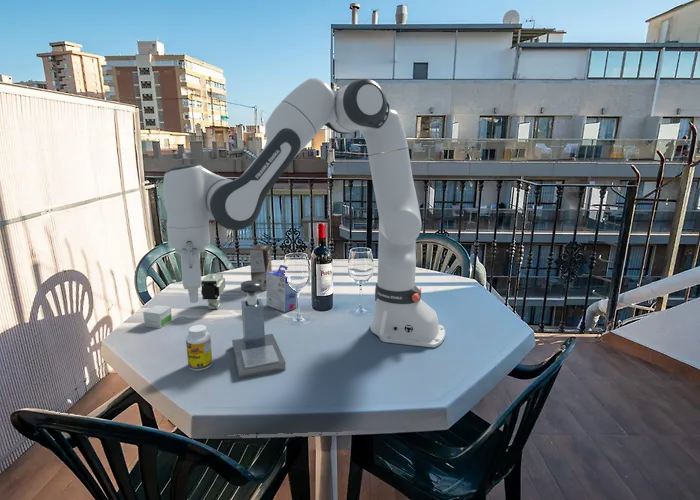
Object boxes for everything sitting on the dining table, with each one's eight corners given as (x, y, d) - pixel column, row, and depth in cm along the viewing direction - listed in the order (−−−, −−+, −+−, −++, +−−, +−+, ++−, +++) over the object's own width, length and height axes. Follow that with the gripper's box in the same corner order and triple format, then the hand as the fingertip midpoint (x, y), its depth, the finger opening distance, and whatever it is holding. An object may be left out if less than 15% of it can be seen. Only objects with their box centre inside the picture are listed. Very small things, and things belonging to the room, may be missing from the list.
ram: (264, 329, 100) (263, 285, 97) (244, 332, 98) (242, 287, 95) (261, 321, 105) (259, 279, 102) (242, 324, 103) (239, 281, 100)
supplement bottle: (183, 369, 92) (179, 330, 90) (199, 357, 97) (196, 321, 95) (201, 374, 90) (198, 335, 88) (217, 362, 95) (214, 325, 93)
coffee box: (267, 290, 145) (266, 250, 141) (251, 290, 145) (249, 249, 141) (272, 282, 154) (271, 244, 150) (257, 282, 154) (255, 244, 150)
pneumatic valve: (202, 314, 123) (199, 279, 120) (211, 301, 134) (209, 268, 131) (219, 314, 123) (217, 279, 120) (227, 300, 135) (225, 268, 132)
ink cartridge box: (297, 308, 130) (297, 267, 126) (285, 313, 125) (284, 271, 122) (278, 301, 135) (276, 262, 132) (266, 305, 131) (264, 265, 127)
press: (285, 369, 93) (284, 320, 90) (239, 378, 89) (236, 328, 86) (272, 340, 107) (271, 297, 104) (232, 346, 103) (229, 302, 100)
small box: (160, 328, 113) (159, 313, 112) (144, 326, 114) (142, 311, 113) (173, 320, 118) (171, 306, 117) (157, 318, 119) (155, 304, 118)
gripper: (205, 246, 78) (210, 309, 81) (202, 228, 96) (206, 279, 99) (171, 248, 75) (178, 313, 79) (175, 229, 94) (180, 282, 97)
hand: (194, 294), depth 89 cm, fingers open, 8 cm apart
